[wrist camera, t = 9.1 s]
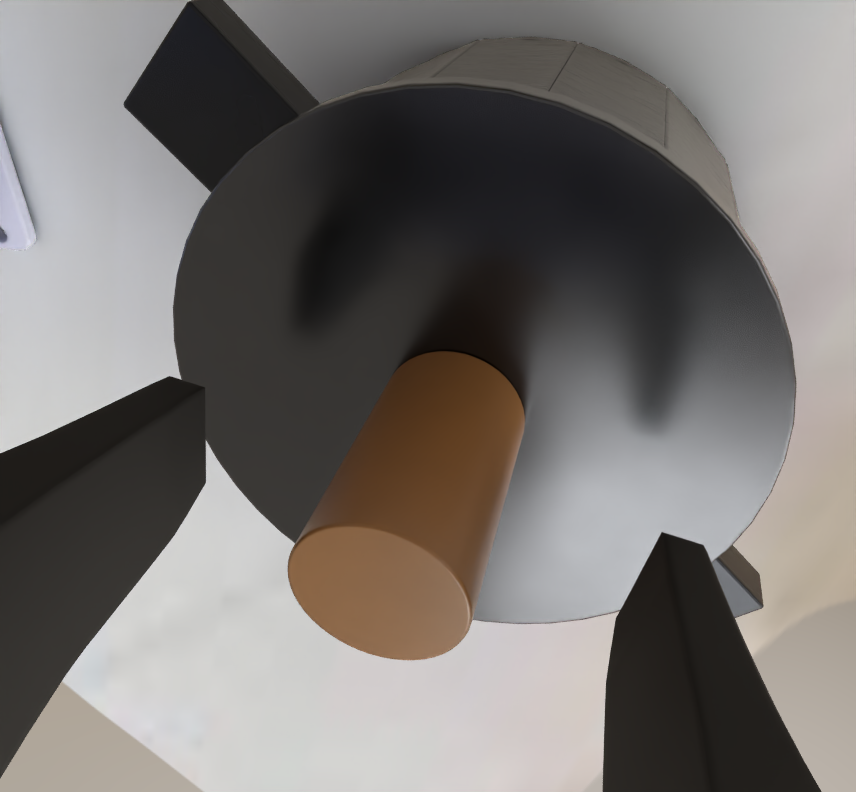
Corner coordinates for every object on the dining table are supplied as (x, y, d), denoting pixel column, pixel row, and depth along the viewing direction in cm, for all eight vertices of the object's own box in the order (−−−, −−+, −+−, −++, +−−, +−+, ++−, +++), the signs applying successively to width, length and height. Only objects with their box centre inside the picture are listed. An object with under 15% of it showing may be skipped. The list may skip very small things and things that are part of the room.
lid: (461, 644, 19) (397, 874, 14) (109, 331, 16) (-101, 497, 12) (925, 442, 13) (1061, 740, 8) (477, -119, 10) (322, -126, 6)
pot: (561, 536, 24) (531, 714, 19) (179, 161, 20) (10, 254, 15) (894, 371, 18) (983, 563, 13) (446, -201, 14) (319, -251, 9)
